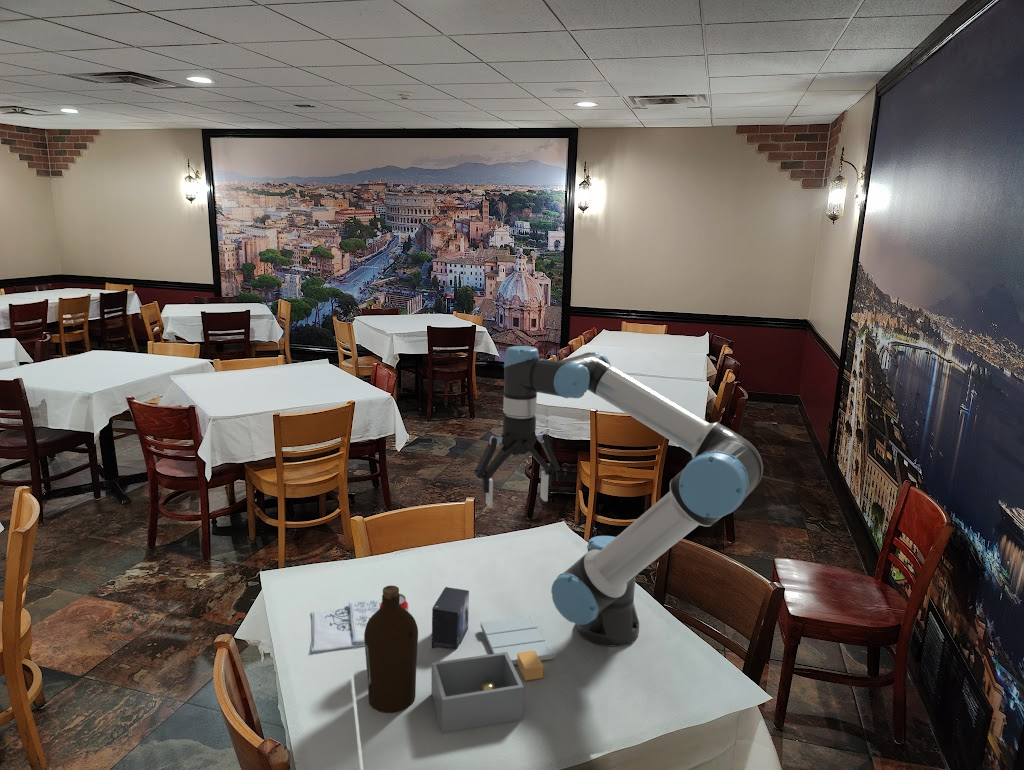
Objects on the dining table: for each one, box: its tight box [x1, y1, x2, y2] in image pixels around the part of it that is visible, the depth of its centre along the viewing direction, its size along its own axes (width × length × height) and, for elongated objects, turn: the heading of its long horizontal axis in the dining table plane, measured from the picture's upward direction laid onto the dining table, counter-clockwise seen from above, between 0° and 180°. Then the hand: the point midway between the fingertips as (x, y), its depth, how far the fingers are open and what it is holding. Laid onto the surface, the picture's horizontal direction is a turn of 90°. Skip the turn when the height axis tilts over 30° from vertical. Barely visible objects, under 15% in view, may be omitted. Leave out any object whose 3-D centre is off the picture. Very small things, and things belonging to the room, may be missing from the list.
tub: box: [431, 652, 525, 734], centre depth 140 cm, size 16×12×8 cm
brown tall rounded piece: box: [364, 585, 419, 714], centre depth 140 cm, size 11×11×25 cm
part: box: [481, 680, 496, 691], centre depth 143 cm, size 3×3×3 cm
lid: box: [480, 615, 554, 682], centre depth 160 cm, size 23×13×4 cm, turn 16°
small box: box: [430, 586, 470, 651], centre depth 164 cm, size 11×6×10 cm, turn 168°
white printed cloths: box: [309, 598, 382, 655], centre depth 169 cm, size 19×20×2 cm
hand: (516, 502), depth 163 cm, fingers open, 13 cm apart
